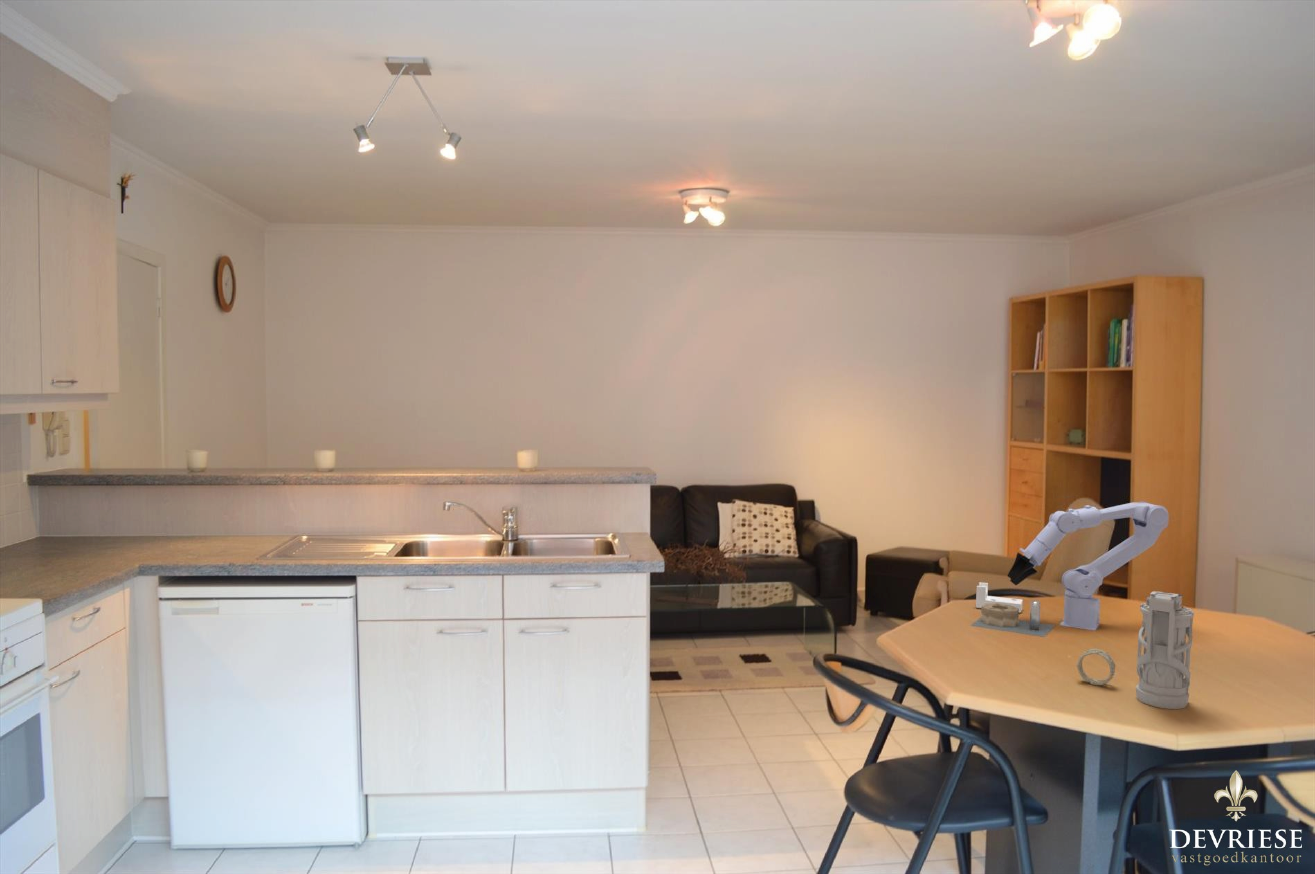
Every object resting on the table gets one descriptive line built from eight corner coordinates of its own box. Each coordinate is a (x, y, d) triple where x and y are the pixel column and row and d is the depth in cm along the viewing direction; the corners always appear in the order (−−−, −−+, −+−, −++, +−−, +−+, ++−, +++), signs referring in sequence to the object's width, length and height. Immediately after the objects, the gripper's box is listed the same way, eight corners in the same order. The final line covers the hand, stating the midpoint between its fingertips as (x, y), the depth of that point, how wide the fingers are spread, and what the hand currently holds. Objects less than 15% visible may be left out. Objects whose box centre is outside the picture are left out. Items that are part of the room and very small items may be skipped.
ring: (1020, 621, 276) (1021, 606, 276) (1012, 628, 268) (1013, 612, 268) (986, 616, 282) (987, 601, 281) (978, 623, 274) (979, 607, 273)
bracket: (975, 610, 292) (976, 586, 292) (978, 605, 298) (979, 582, 298) (1020, 615, 286) (1021, 591, 286) (1022, 610, 293) (1023, 586, 292)
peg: (1039, 629, 268) (1041, 601, 268) (1038, 631, 266) (1039, 603, 266) (1030, 627, 270) (1031, 600, 269) (1028, 629, 268) (1029, 601, 267)
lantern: (1139, 690, 216) (1145, 582, 214) (1191, 700, 209) (1198, 589, 208) (1128, 705, 205) (1134, 591, 204) (1182, 716, 199) (1189, 599, 198)
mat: (1055, 626, 273) (1055, 625, 273) (1044, 638, 260) (1044, 636, 260) (984, 615, 284) (984, 614, 284) (970, 626, 271) (970, 625, 271)
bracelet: (1079, 678, 224) (1080, 645, 223) (1115, 685, 219) (1117, 651, 219) (1075, 682, 221) (1076, 648, 220) (1112, 689, 216) (1113, 655, 216)
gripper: (1033, 542, 282) (1002, 576, 282) (1029, 531, 269) (997, 566, 270) (1053, 557, 278) (1022, 591, 278) (1050, 546, 266) (1018, 582, 266)
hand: (1011, 580), depth 274 cm, fingers open, 7 cm apart
